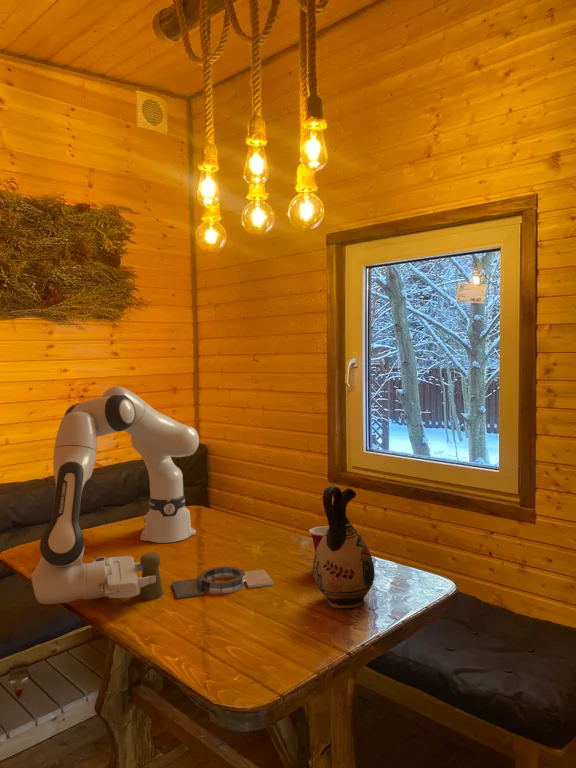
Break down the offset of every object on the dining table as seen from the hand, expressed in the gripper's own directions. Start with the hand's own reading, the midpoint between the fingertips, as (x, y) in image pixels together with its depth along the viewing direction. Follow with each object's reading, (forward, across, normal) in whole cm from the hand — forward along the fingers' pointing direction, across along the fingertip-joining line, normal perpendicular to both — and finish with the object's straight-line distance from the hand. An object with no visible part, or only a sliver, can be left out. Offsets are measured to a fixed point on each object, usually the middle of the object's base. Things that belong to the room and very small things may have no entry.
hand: (154, 572), depth 163 cm
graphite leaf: (+15, 0, +6) cm, 16 cm away
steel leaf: (+22, 0, +6) cm, 22 cm away
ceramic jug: (+44, -22, +6) cm, 50 cm away
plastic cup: (+49, 0, +6) cm, 50 cm away
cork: (-1, 0, +6) cm, 6 cm away
